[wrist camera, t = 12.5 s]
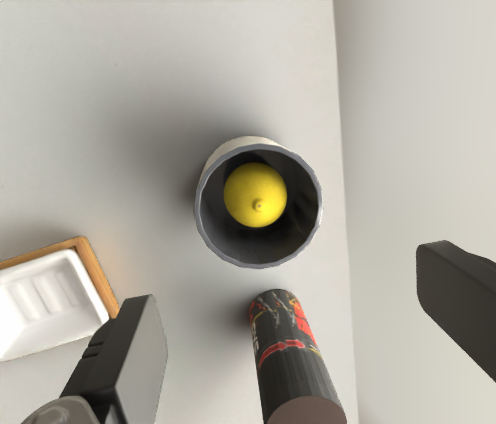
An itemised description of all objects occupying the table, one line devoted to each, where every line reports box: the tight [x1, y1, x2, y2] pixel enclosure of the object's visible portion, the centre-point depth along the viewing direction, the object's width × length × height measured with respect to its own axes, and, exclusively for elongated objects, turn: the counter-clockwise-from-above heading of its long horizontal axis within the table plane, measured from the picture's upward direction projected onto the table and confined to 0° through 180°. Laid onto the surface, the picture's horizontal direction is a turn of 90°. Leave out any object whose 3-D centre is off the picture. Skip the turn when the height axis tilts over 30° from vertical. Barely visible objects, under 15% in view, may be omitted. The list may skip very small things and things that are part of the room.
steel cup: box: [194, 136, 323, 269], centre depth 31 cm, size 10×10×9 cm
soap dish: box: [0, 236, 119, 362], centre depth 34 cm, size 12×10×5 cm
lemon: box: [224, 162, 287, 227], centre depth 30 cm, size 6×6×8 cm
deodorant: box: [249, 289, 347, 424], centre depth 32 cm, size 6×6×15 cm
